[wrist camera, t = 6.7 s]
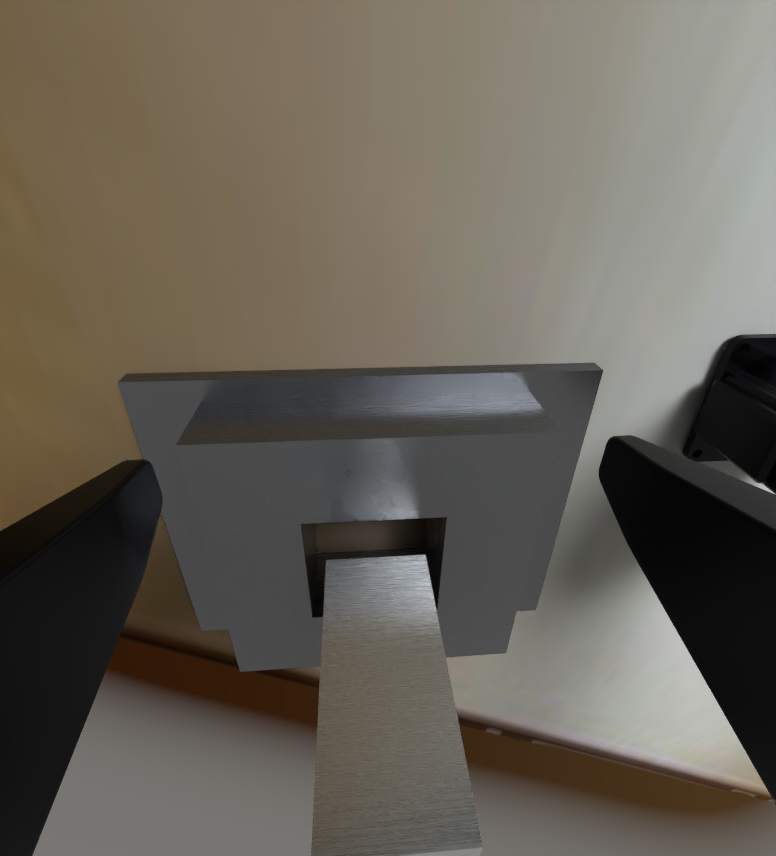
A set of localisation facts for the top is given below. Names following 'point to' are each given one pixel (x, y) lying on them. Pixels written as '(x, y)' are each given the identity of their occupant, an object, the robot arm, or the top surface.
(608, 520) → the top surface
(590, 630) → the top surface
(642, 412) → the top surface
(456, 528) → the stand base
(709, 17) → the top surface
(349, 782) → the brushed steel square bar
